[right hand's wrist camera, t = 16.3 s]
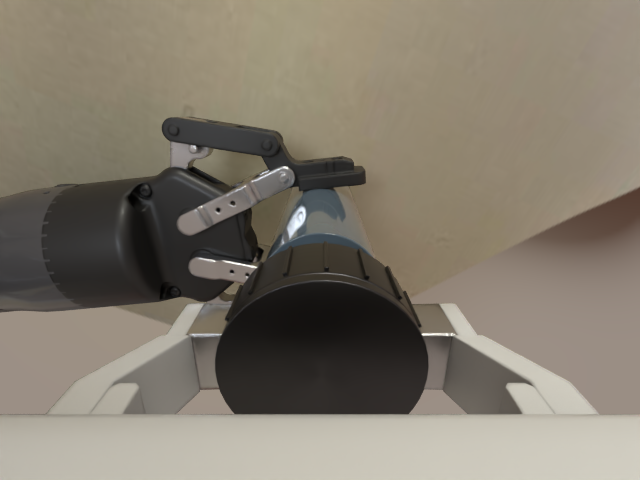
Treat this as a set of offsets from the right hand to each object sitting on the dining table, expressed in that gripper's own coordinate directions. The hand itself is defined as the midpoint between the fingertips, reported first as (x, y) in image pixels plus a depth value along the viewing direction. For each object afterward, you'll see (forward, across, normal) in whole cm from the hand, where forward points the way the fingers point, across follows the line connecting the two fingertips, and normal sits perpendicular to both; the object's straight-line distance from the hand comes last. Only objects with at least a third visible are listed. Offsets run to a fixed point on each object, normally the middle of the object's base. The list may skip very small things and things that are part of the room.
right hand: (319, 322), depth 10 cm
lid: (-2, 0, 0) cm, 2 cm away
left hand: (+10, -3, 0) cm, 11 cm away
